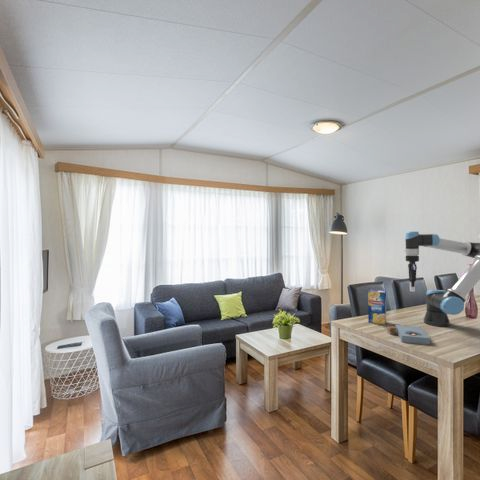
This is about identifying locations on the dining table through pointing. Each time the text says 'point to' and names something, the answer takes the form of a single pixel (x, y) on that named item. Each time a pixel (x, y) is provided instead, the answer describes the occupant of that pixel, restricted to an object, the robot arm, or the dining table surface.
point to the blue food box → (377, 306)
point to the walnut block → (392, 330)
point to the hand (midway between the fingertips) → (412, 291)
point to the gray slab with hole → (407, 336)
